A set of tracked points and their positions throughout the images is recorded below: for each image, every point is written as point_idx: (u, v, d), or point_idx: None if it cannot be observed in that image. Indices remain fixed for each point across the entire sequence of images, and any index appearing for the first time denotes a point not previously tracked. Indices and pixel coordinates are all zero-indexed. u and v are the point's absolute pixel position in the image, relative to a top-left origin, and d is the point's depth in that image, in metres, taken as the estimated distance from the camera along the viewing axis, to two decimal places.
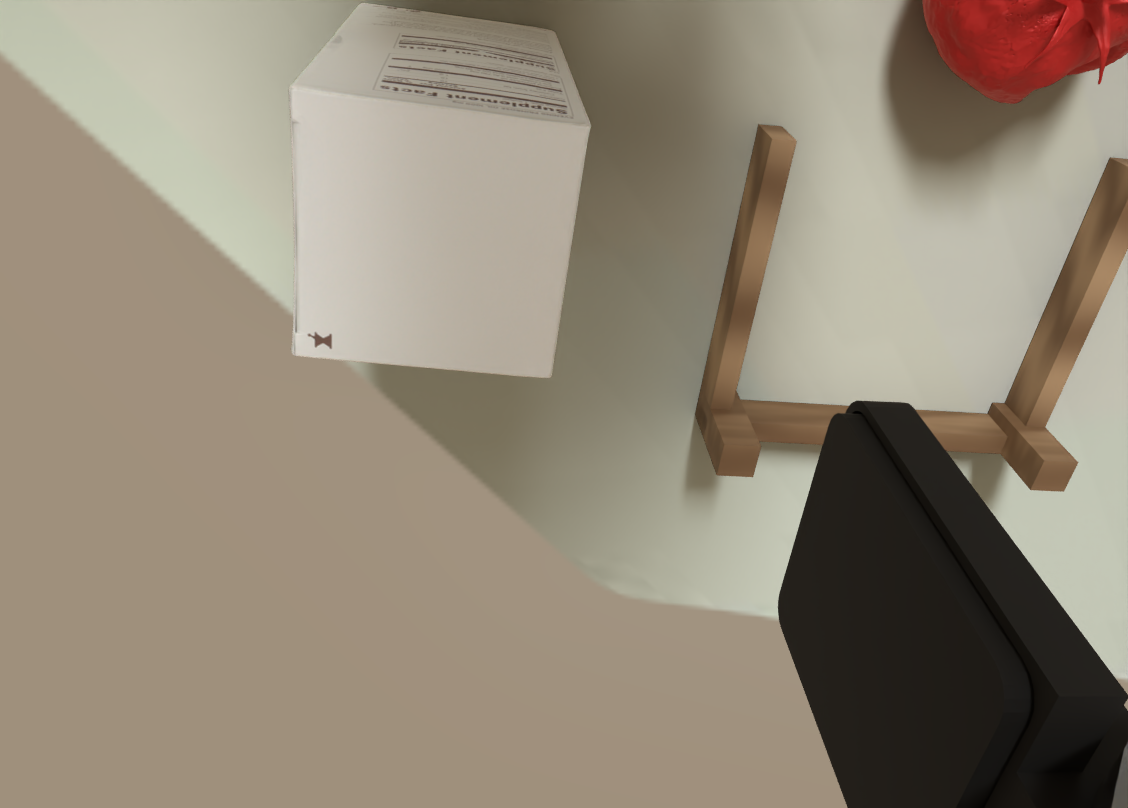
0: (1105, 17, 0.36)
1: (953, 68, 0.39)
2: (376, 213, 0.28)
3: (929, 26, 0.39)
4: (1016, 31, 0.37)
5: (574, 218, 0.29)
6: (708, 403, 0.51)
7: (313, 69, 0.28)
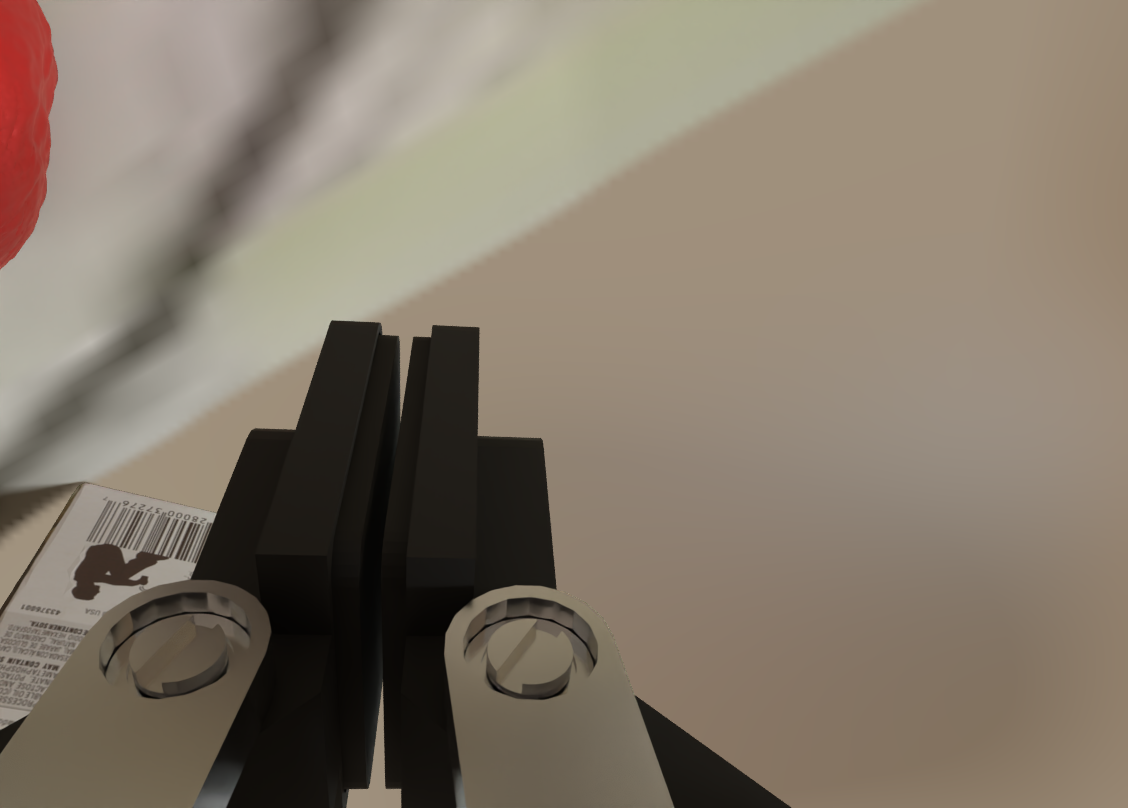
0: None
1: None
2: None
3: None
4: None
5: None
6: None
7: None
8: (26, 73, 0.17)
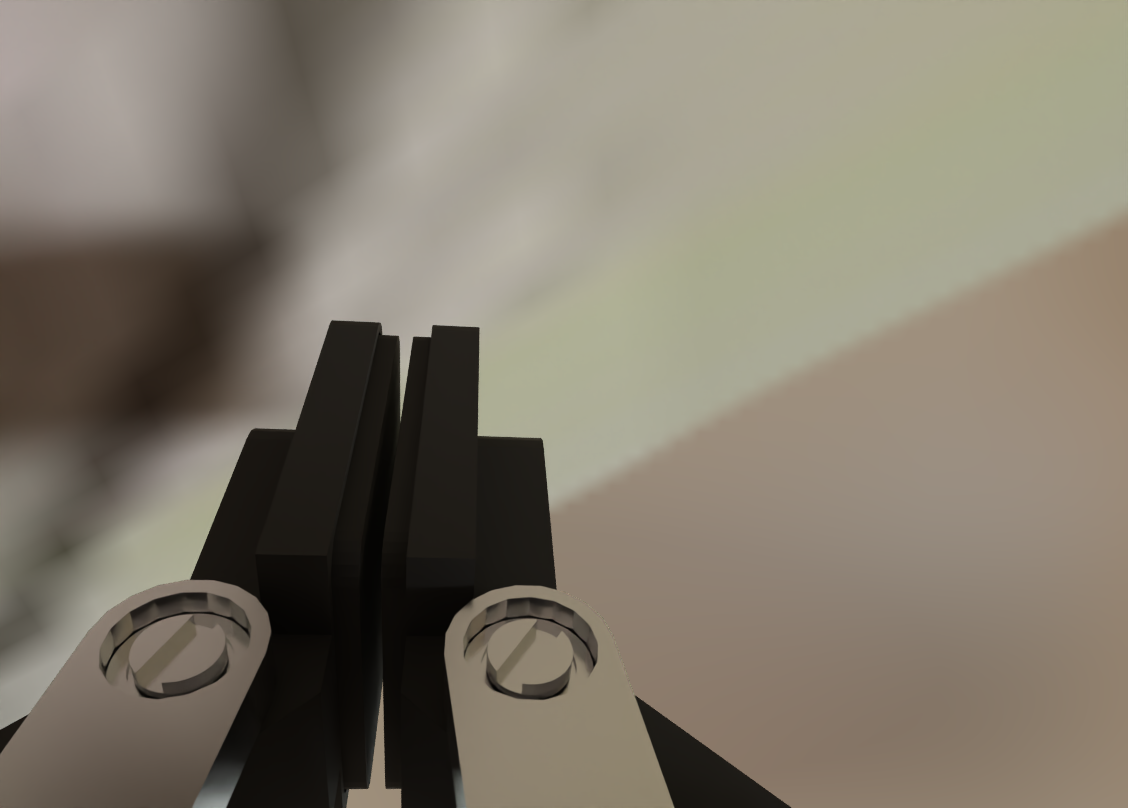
0: None
1: None
2: None
3: None
4: None
5: None
6: None
7: None
8: None
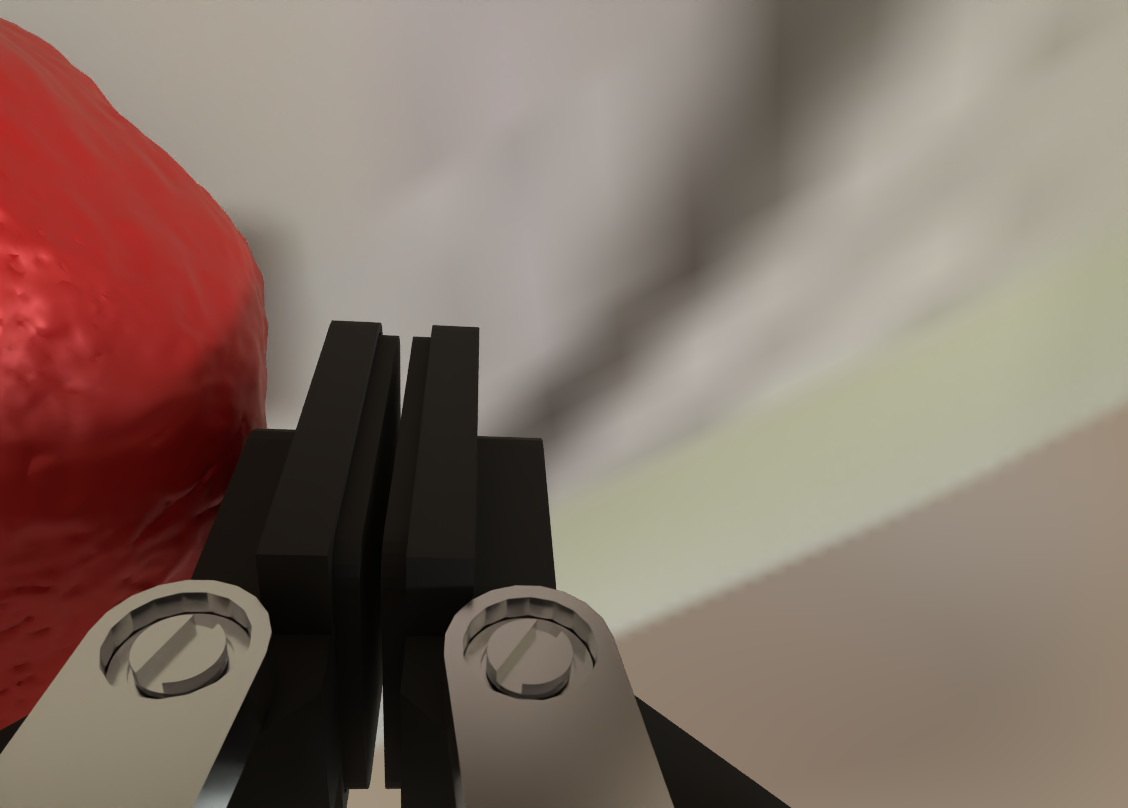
0: None
1: None
2: None
3: None
4: None
5: None
6: None
7: None
8: (254, 392, 0.10)
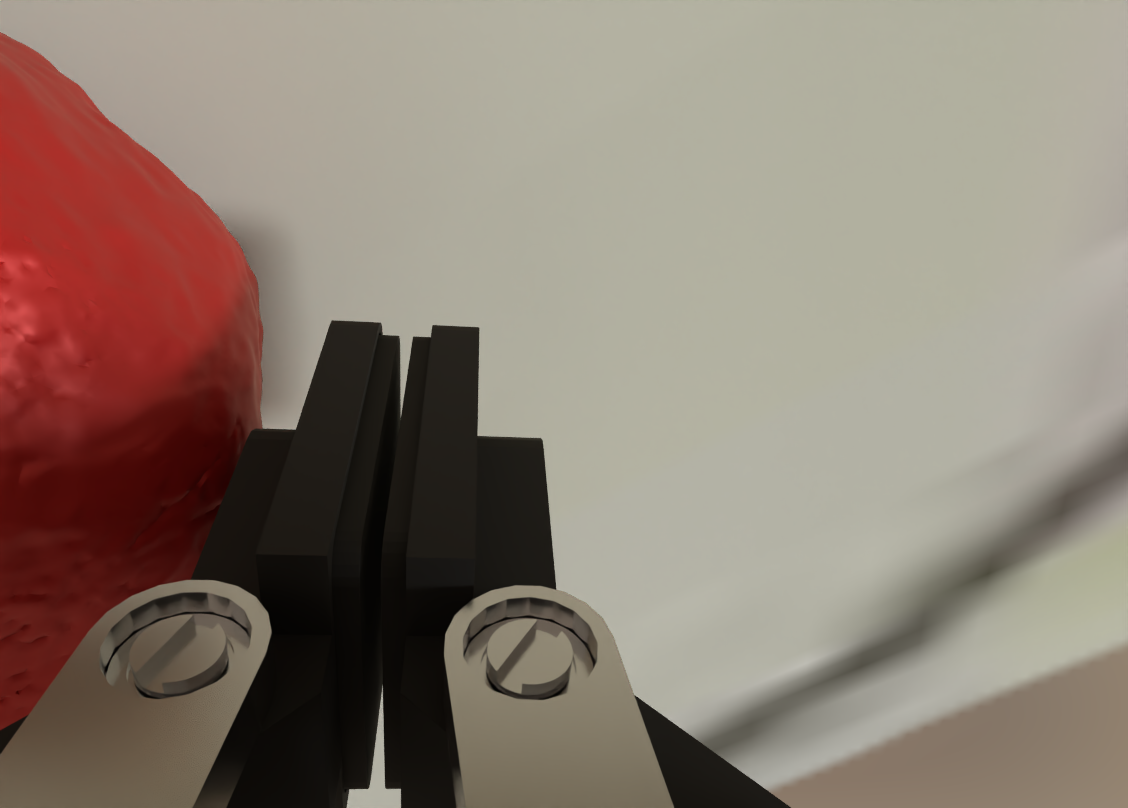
0: None
1: None
2: None
3: None
4: None
5: None
6: None
7: None
8: (249, 395, 0.10)
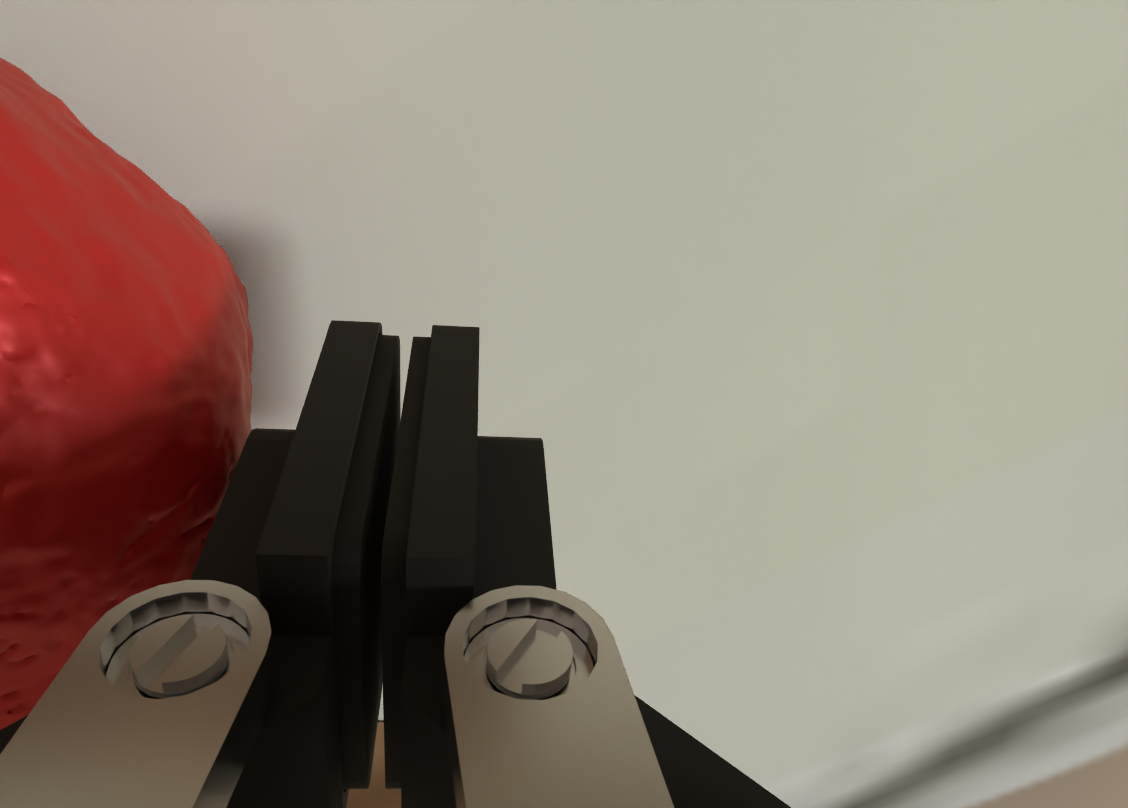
0: None
1: None
2: None
3: None
4: None
5: None
6: None
7: None
8: (238, 405, 0.10)
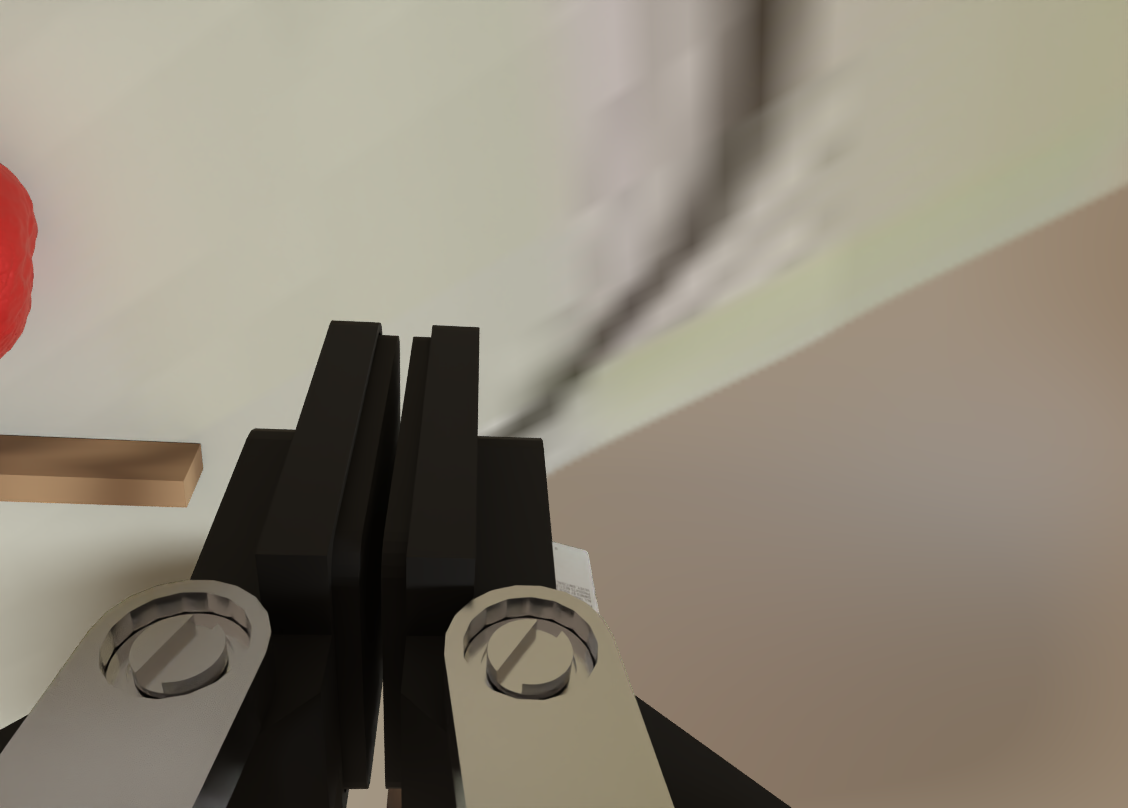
0: None
1: None
2: None
3: None
4: None
5: None
6: None
7: None
8: (17, 237, 0.27)
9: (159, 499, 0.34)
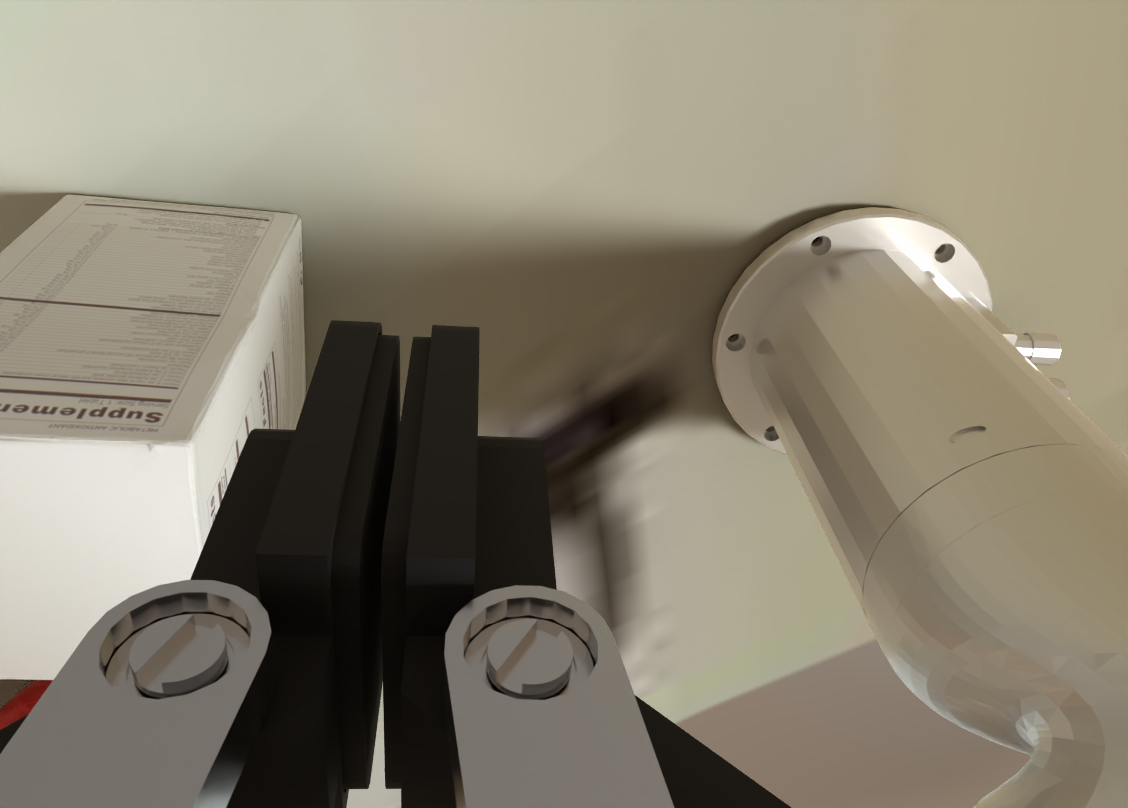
0: None
1: None
2: (60, 523, 0.24)
3: (19, 696, 0.46)
4: None
5: None
6: None
7: (216, 409, 0.25)
8: None
9: None
